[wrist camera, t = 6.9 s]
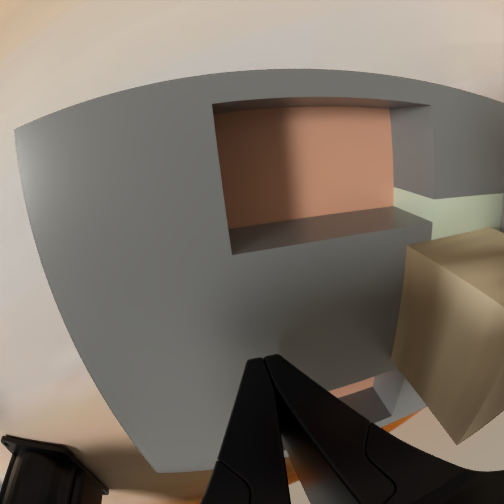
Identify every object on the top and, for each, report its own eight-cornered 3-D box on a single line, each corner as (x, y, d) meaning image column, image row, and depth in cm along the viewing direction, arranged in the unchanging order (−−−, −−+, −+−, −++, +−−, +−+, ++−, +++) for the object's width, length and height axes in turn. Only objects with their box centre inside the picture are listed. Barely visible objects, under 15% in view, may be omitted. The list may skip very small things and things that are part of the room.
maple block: (390, 359, 9) (456, 445, 5) (406, 245, 8) (521, 320, 4) (469, 325, 10) (534, 382, 6) (489, 227, 8) (579, 271, 4)
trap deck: (158, 433, 12) (156, 508, 8) (55, 130, 7) (-36, 131, 3) (438, 362, 14) (480, 409, 10) (468, 104, 9) (549, 108, 5)
